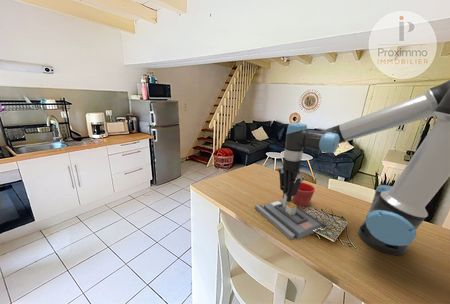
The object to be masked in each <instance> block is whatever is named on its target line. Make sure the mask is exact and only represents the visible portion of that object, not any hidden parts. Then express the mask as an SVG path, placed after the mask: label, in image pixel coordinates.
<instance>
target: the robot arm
mask: <svg viewBox="0 0 450 304" xmlns="http://www.w3.org/2000/svg"><path fill="white" fill-rule="evenodd" d="M432 117H436V122H435V123H434V124H433V126H432V127H431V129H430V130H429V132H428V133H427V135H426V136H425V137H424V139H423V141H422V142H421V143H420V145H419V147H418V148H417V150H416V151H415V153H414V154H413V155H412V157H411V158H410V160H409V161H408V163H407V165H406V166H405V167H404V168H403V170H402V172H401V173H400V174H399V176H398V178H397V180H396V181H395V182H394V183H393V185H386V184H380V185H378V186H377V187H376V189H375V190H374V191H375V193H374V196H373V199H372V202H371V205H370V207H369V210H368V213H367V214H366V216H365V220H364V221H363V222H362V223H361V224H360V225H359V227H358V231H357V233H358V236H359V237H360V239H361V240H362V241H363V242H364V243H365V244H367V245H368V246H370V247H371V248H373V249H374V250H377V251H378V252H381V253H385V254H388V255H391V256H402V255H405V253H406V252H407V250H408V247H409V246H408V245H411V243H413V242H414V240H415V239H416V237H417V229H418V228H419V227H420V225H422V223H423V222H424V220H425V219H426V218H428V216H429V213H428V211H427V209H426V207H427V205H428V204H429V202H431V200H432V199H433V198H434V197H435V196H436V194H437V193H438V192H439V190H440V189H441V188H442V187H443V186H444V184H445V183H446V182H447V180H448V179H449V178H450V79H449V80H447V81H445V82H443V83H441V84H438V85H435V86H434V87H431V88H428V89H427V90H426V91H425V92H424V93H423V94H421V95H420V94H419V95H418V96H415V97H412V98H408V99H407V100H404V101H401V102H399V103H396V104H392V105H390V106H387V107H385V108H382V109H379V110H376V111H374V112H371V113H368V114H365V115H362V116H360V117H356V118H353V119H352V120H349V121H345V122H343V123H340V124H337V125H335V126H332V127H329V128H327V129H323V130H320V131H319V130H312V129H308V125H307V124H305V123H301V122H292V123H291V122H290V123H288V126H287V128H286V130H287V131H286V135H285V147H284V153H283V159H282V168H279V169H278V174H279V175H278V176H279V189H280V191H282V193H283V194H282V199H283V207H286V204H287V203H290V202H292V199H293V196H294V195H296V193H297V191H298V189H299V186H300V184H301V182H302V183H303V181H304V179H305V178H303V177H301V176H300V175H301V173H300V170H301V167H302V166H301V165H302V158H303V153H304V149H309V150H313V151H318V152H321V153H329V154H333V153H336V151H337V149H338V148H339V144H342V143H345V142H349V141H352V140H356V139H359V138H362V137H367V136H370V135H372V134H376V133H379V132H383V131H387V130H390V129H393V128H397V127H400V126H403V125H407V124H411V123H414V122H417V121H421V120H425V119H428V118H432Z"/></svg>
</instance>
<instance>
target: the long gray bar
mask: <svg viewBox="0 0 450 304" xmlns="http://www.w3.org/2000/svg"><path fill="white" fill-rule="evenodd" d="M291 202H292V201H290V203H291ZM296 208H297V209H299V210H300V211H302V212H303V213H305V214H306V215H308V216H309V217H311V218H312V219H314V220H315V221H317V222H318V223H320V224H321V225H320V228H321V229H323V228H325V227H326V228H327V225H326V224H325V223H323V222H321V220H318V219H317V218H315V217H313V215H310V214H309V213H307V212H306V211H305V210H303V209H302V208H300V207H298V206H297V207H296Z"/></svg>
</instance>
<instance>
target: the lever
mask: <svg viewBox="0 0 450 304" xmlns="http://www.w3.org/2000/svg"><path fill="white" fill-rule="evenodd" d="M290 202H291V203H287V204H286V210H285V212H287V213H288V214H289V215H291V216H292V215H295V213H296V207H298V205H297V204H295V203H294V202H292V201H290Z"/></svg>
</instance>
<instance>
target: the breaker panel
mask: <svg viewBox="0 0 450 304" xmlns="http://www.w3.org/2000/svg"><path fill="white" fill-rule="evenodd" d="M263 208H264V209H266V210H267V211H268V212H269V213H271V214H272V215H273V216H274V217H275V218H277V219H278V220H279V221H280V222H282V223H283V224H284V225H285V226H286V227H288V228H289V229H290V230H291V231H293V232H294V233H295V234H296V235H297V236H296V238H295V239H297V240H300V239H302V238H304V237H307V236H309V235H311V234H313V233H315V232H313V230H315V229H318V228H320V225H321V224H320V223H318V222H317V221H315V220H314V219H312V218H311V217H309V216H308V215H306V214H305V213H303V212H302V211H300V210H299V209H297V208H296V213H295V215H292V216H291V215H289V214H288V213H287V212H285V210H286V207H283V198H282V199H279V200H276V201H273V202H268V203H266V204H263Z"/></svg>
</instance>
